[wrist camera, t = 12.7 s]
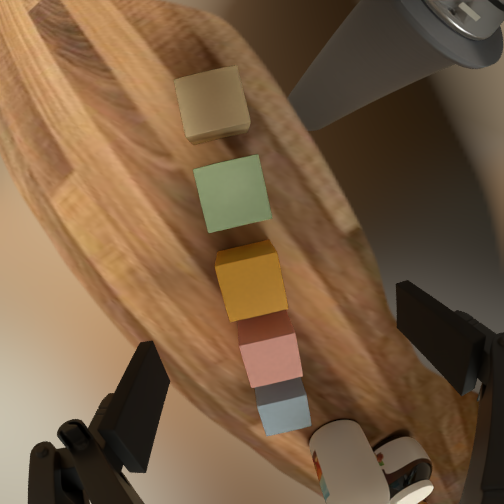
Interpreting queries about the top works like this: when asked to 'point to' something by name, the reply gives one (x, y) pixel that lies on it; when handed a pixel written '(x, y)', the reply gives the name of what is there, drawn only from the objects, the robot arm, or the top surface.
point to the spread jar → (405, 469)
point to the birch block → (212, 105)
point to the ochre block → (250, 280)
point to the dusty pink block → (269, 349)
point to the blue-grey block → (283, 406)
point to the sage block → (232, 193)
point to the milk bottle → (347, 465)
